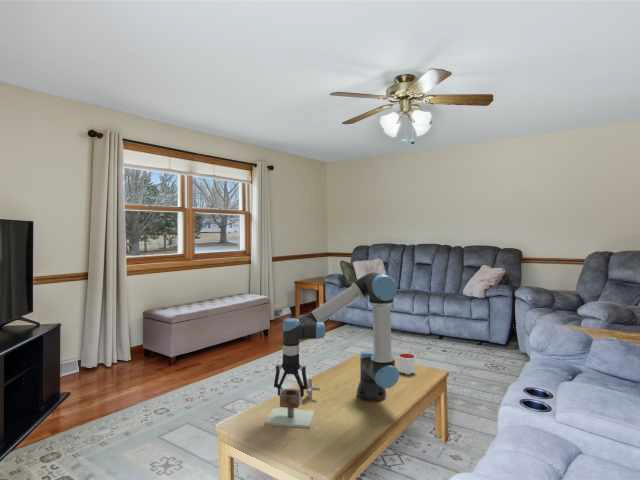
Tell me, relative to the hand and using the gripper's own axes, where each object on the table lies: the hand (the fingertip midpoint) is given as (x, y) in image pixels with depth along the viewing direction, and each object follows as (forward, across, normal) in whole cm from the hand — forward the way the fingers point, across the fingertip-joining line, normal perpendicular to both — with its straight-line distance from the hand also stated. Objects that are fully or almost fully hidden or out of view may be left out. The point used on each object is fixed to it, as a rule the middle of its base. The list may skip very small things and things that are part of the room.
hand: (290, 403), depth 173 cm
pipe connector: (+7, -5, -23) cm, 25 cm away
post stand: (+7, 0, 0) cm, 7 cm away
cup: (+7, -57, -68) cm, 89 cm away
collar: (0, 0, 0) cm, 0 cm away
